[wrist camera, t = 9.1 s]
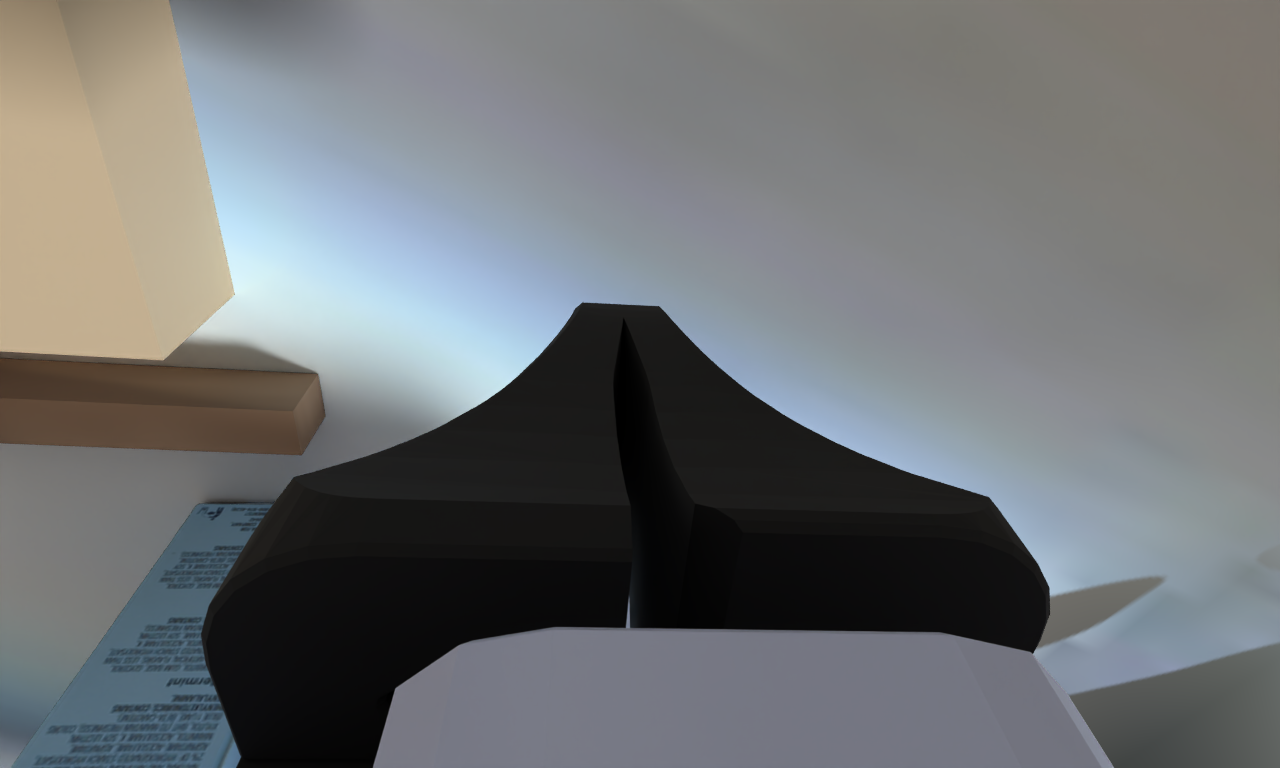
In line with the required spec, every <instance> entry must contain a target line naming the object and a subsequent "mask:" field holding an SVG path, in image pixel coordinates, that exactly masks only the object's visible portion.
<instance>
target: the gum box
mask: <svg viewBox="0 0 1280 768" xmlns="http://www.w3.org/2000/svg"><path fill="white" fill-rule="evenodd" d="M273 504H274V503H243V504H226V503H205V504H198V505H196V506H195V508H194V509H193V511H192V512H191V514H190V515H189V516H188V518H187V519H186V521H185V522H184V524H183V525H182V526H181V528H180V529H179V531H178V532H177V533H176V535H175V536H174V538H173V539H172V541H171V542H170V544H169V545H168V547H167V548H166V550H165V551H164V552H163V554H162V555H161V557H160V558H159V559H158V561H157V562H156V564H155V565H154V566H153V568H152V569H151V570H150V572H149V573H148V575H147V576H146V578H145V579H144V580H143V582H142V583H141V585H140V586H139V587H138V589H137V590H136V592H135V593H134V595H133V596H132V597H131V599H130V600H129V602H128V603H127V605H126V606H125V607H124V609H123V610H122V612H121V613H120V614H119V616H118V617H117V619H116V620H115V622H114V623H113V624H112V626H111V627H110V629H109V630H108V632H107V633H106V634H105V636H104V637H103V639H102V640H101V642H100V643H99V644H98V646H97V647H96V649H95V650H94V651H93V653H92V654H91V656H90V657H89V658H88V660H87V661H86V663H85V664H84V665H83V667H82V668H81V670H80V671H79V672H78V674H77V675H76V677H75V678H74V679H73V681H72V682H71V684H70V685H69V686H68V688H67V689H66V691H65V692H64V693H63V695H62V696H61V698H60V699H59V700H58V702H57V703H56V705H55V706H54V708H53V709H52V710H51V712H50V713H49V715H48V716H47V717H46V719H45V720H44V722H43V723H42V724H41V726H40V727H39V729H38V730H37V731H36V733H35V734H34V736H33V737H32V738H31V740H30V741H29V743H28V744H27V745H26V747H25V748H24V750H23V751H22V753H21V754H20V755H19V757H18V758H17V760H16V761H15V762H14V764H13V765H12V767H11V768H236V767H237V765H238V762H239V760H240V758H241V756H240V754H239V751H238V748H237V746H236V743H235V741H234V738H233V735H232V733H231V730H230V727H229V725H228V722H227V719H226V717H225V714H224V711H223V709H222V706H221V703H220V701H219V698H218V695H217V693H216V690H215V687H214V685H213V682H212V679H211V677H210V674H209V671H208V669H207V666H206V663H205V657H204V651H203V645H202V639H201V632H202V628H203V624H204V621H205V617H206V614H207V610H208V606H209V604H210V603H211V601H212V599H213V598H214V596H215V594H216V593H217V591H218V589H219V588H220V586H221V584H222V583H223V581H224V579H225V578H226V576H227V575H228V573H229V571H230V570H231V568H232V566H233V565H234V563H235V561H236V560H237V558H238V556H239V555H240V553H241V551H242V550H243V548H244V547H245V545H246V543H247V542H248V540H249V538H250V537H251V535H252V534H253V532H254V531H255V529H256V528H257V526H258V525H259V523H260V522H261V520H262V519H263V517H264V516H265V514H266V513H267V512H268V510H269V509H270V508H271V506H272V505H273Z"/></svg>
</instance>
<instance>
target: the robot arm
mask: <svg viewBox="0 0 1280 768" xmlns="http://www.w3.org/2000/svg"><path fill="white" fill-rule="evenodd" d="M1049 615H1050V593H1049V586H1048V584H1047V582H1046V580H1045V578H1044V576H1043V574H1042V572H1041V569H1040V567H1039V565H1038V563H1037V562H1036V561H1035V559H1034V558H1033V557H1032V555H1031V554H1030V552H1029V551H1028V550H1027V548H1026V547H1025V545H1024V544H1023V543H1022V541H1021V540H1020V538H1019V537H1018V536H1017V534H1016V533H1015V532H1014V530H1013V529H1012V527H1011V526H1010V525H1009V523H1008V522H1007V520H1006V519H1005V518H1004V516H1003V515H1002V513H1001V512H1000V511H999V509H998V508H997V507H996V505H995V504H994V503H993V502H992V500H991V499H990V498H989V497H987V496H983V495H980V494H977V493H973V492H970V491H967V490H964V489H960V488H957V487H954V486H951V485H947V484H944V483H941V482H937V481H934V480H931V479H928V478H924V477H921V476H918V475H914V474H911V473H909V472H906V471H903V470H900V469H898V468H895V467H893V466H890V465H887V464H885V463H882V462H880V461H877V460H875V459H872V458H870V457H867V456H865V455H862V454H860V453H857V452H855V451H853V450H851V449H849V448H846V447H844V446H842V445H840V444H837V443H835V442H833V441H831V440H829V439H827V438H825V437H823V436H822V435H820V434H818V433H816V432H814V431H812V430H810V429H808V428H806V427H804V426H802V425H800V424H799V423H797V422H795V421H793V420H792V419H790V418H788V417H786V416H785V415H783V414H782V413H780V412H779V411H777V410H775V409H774V408H772V407H771V406H769V405H768V404H766V403H765V402H763V401H762V400H760V399H759V398H757V397H756V396H754V395H753V394H752V393H750V392H749V391H748V390H746V389H745V388H743V387H742V386H741V385H740V384H738V383H737V382H736V381H735V380H734V379H732V378H731V377H730V376H729V375H728V374H726V373H725V372H724V371H723V370H722V369H720V368H719V367H718V366H717V365H716V364H715V363H714V362H713V361H711V360H710V359H709V358H708V357H707V356H706V355H705V354H704V353H703V352H702V351H701V350H700V349H699V348H698V347H697V346H696V345H695V344H694V343H693V342H692V341H691V340H690V339H689V338H688V337H687V336H686V335H685V334H684V333H683V332H682V331H681V329H680V328H679V327H678V326H677V325H676V324H675V323H674V322H673V321H672V320H671V318H670V317H669V316H668V315H667V314H666V313H665V312H664V311H663V310H662V309H661V308H660V307H659V306H641V305H621V304H601V303H581V304H580V305H579V306H578V307H577V308H575V310H574V312H573V314H572V315H571V317H570V319H569V320H568V321H567V323H566V324H565V326H564V327H563V328H562V330H561V331H560V332H559V334H558V335H557V336H556V337H555V338H554V339H553V341H552V342H551V343H550V344H549V345H548V346H547V347H546V349H545V350H544V351H543V352H542V353H541V354H540V355H539V356H538V357H537V358H536V359H535V360H534V361H533V362H532V363H531V364H530V365H529V366H528V367H527V368H526V369H525V370H524V371H523V372H522V373H521V374H520V375H519V376H518V377H516V378H515V379H514V380H513V381H512V382H511V383H509V384H508V385H507V386H506V387H505V388H503V389H502V390H501V391H499V392H498V393H496V394H495V395H494V396H492V397H491V398H489V399H488V400H486V401H485V402H483V403H482V404H480V405H478V406H477V407H475V408H473V409H471V410H469V411H468V412H466V413H464V414H462V415H460V416H459V417H457V418H455V419H453V420H451V421H450V422H448V423H446V424H444V425H442V426H440V427H438V428H436V429H434V430H432V431H430V432H428V433H425V434H423V435H421V436H419V437H416V438H414V439H412V440H409V441H407V442H404V443H402V444H399V445H397V446H394V447H391V448H389V449H386V450H384V451H381V452H378V453H375V454H372V455H369V456H366V457H363V458H360V459H356V460H353V461H349V462H346V463H343V464H339V465H336V466H332V467H329V468H326V469H322V470H319V471H316V472H312V473H308V474H304V475H300V476H296V477H294V478H293V479H292V480H291V482H290V483H289V485H288V486H287V487H286V489H285V490H284V491H283V493H282V494H281V495H280V496H279V498H278V499H277V500H276V501H275V503H274V504H273V505H272V506H271V508H270V509H269V510H268V512H267V513H266V514H265V516H264V517H263V519H262V520H261V522H260V523H259V525H258V526H257V528H256V529H255V531H254V532H253V534H252V535H251V537H250V538H249V540H248V542H247V543H246V545H245V547H244V548H243V550H242V551H241V553H240V555H239V556H238V558H237V560H236V561H235V563H234V565H233V566H232V568H231V570H230V571H229V573H228V575H227V576H226V578H225V579H224V581H223V583H222V584H221V586H220V588H219V589H218V591H217V593H216V594H215V596H214V598H213V599H212V601H211V603H210V604H209V606H208V610H207V614H206V617H205V621H204V624H203V628H202V632H201V639H202V645H203V651H204V657H205V663H206V666H207V669H208V671H209V674H210V677H211V679H212V682H213V685H214V687H215V690H216V693H217V695H218V698H219V701H220V703H221V706H222V709H223V711H224V714H225V717H226V719H227V722H228V725H229V727H230V730H231V733H232V735H233V738H234V741H235V743H236V746H237V748H238V751H239V754H240V756H241V758H240V760H239V762H238V765H237V767H236V768H1114V767H1113V766H1112V764H1111V762H1110V761H1109V759H1108V758H1107V756H1106V754H1105V753H1104V751H1103V750H1102V748H1101V746H1100V745H1099V743H1098V742H1097V740H1096V738H1095V737H1094V735H1093V734H1092V732H1091V731H1090V729H1089V728H1088V726H1087V724H1086V723H1085V721H1084V719H1083V718H1082V716H1081V715H1080V713H1079V712H1078V710H1077V708H1076V707H1075V705H1074V704H1073V702H1072V700H1071V699H1070V697H1069V696H1068V694H1067V693H1066V692H1065V690H1064V689H1063V688H1062V687H1061V686H1060V685H1059V684H1058V682H1057V681H1056V680H1055V679H1054V678H1053V677H1052V676H1051V675H1050V673H1049V672H1048V671H1047V670H1046V669H1045V668H1044V667H1043V666H1042V664H1041V663H1040V662H1039V661H1038V660H1037V659H1036V658H1035V656H1034V655H1033V653H1034V651H1035V649H1036V647H1037V646H1038V643H1039V642H1040V640H1041V637H1042V634H1043V631H1044V629H1045V626H1046V623H1047V620H1048V618H1049Z"/></svg>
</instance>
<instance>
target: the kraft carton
mask: <svg viewBox="0 0 1280 768" xmlns="http://www.w3.org/2000/svg"><path fill="white" fill-rule="evenodd" d="M234 295H235V293H234V288H233V284H232V279H231V275H230V271H229V266H228V262H227V257H226V253H225V248H224V244H223V239H222V235H221V230H220V226H219V221H218V217H217V213H216V208H215V204H214V199H213V195H212V190H211V186H210V181H209V177H208V172H207V168H206V164H205V159H204V155H203V150H202V146H201V141H200V137H199V132H198V128H197V123H196V119H195V115H194V110H193V106H192V101H191V97H190V92H189V88H188V83H187V79H186V74H185V70H184V65H183V61H182V57H181V52H180V48H179V43H178V39H177V34H176V30H175V25H174V21H173V16H172V12H171V8H170V3H169V0H0V351H3V352H21V353H39V354H58V355H76V356H94V357H112V358H130V359H148V360H164V359H165V358H166V357H168V356H169V355H170V354H171V353H172V352H173V351H174V350H175V349H176V348H177V347H178V346H180V345H181V344H182V343H183V342H184V341H185V340H186V339H187V338H188V337H189V336H190V335H191V334H193V333H194V332H195V331H196V330H197V329H198V328H199V327H200V326H201V325H202V324H203V323H204V322H206V321H207V320H208V319H209V318H210V317H211V316H212V315H213V314H214V313H215V312H216V311H217V310H219V309H220V308H221V307H222V306H223V305H224V304H225V303H226V302H227V301H228V300H229V299H230V298H232V297H233V296H234Z"/></svg>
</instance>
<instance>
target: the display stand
mask: <svg viewBox="0 0 1280 768" xmlns="http://www.w3.org/2000/svg"><path fill="white" fill-rule="evenodd" d="M324 417H325V410H324V404H323V399H322V393H321V387H320V382H319V376H318V374H307V373H287V372H267V371H247V370H226V369H206V368H186V367H166V366H146V365H125V364H105V363H85V362H65V361H44V360H24V359H4V358H0V443H9V444H34V445H59V446H84V447H109V448H134V449H159V450H184V451H209V452H234V453H259V454H284V455H302V454H303V452H304V451H305V449H306V447H307V446H308V444H309V442H310V441H311V439H312V437H313V436H314V434H315V432H316V431H317V429H318V427H319V426H320V424H321V422H322V421H323V419H324Z"/></svg>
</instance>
